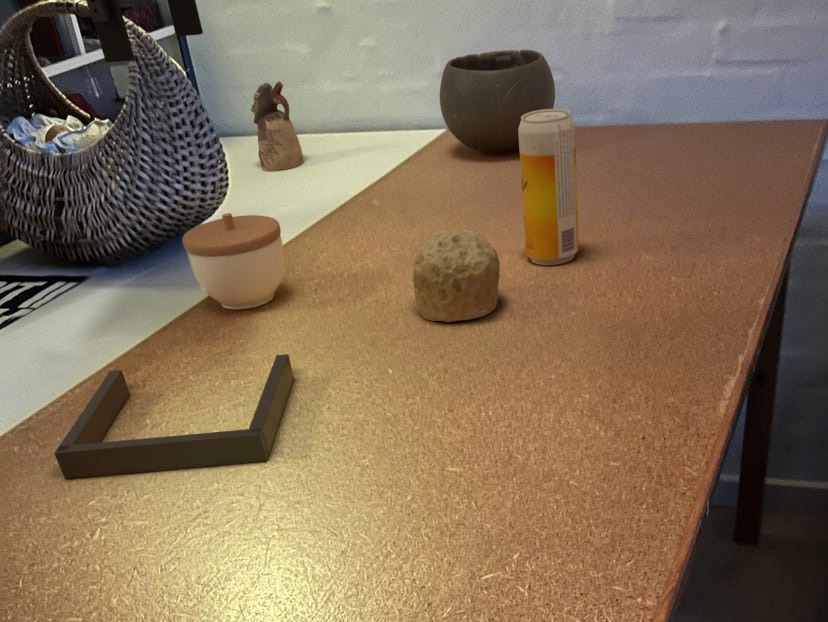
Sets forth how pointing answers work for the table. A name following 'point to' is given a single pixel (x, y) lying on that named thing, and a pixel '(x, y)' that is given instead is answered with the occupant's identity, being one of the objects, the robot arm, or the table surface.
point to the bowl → (494, 96)
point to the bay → (172, 452)
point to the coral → (456, 276)
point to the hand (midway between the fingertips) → (157, 47)
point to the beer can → (549, 185)
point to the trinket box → (237, 259)
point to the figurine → (275, 130)
